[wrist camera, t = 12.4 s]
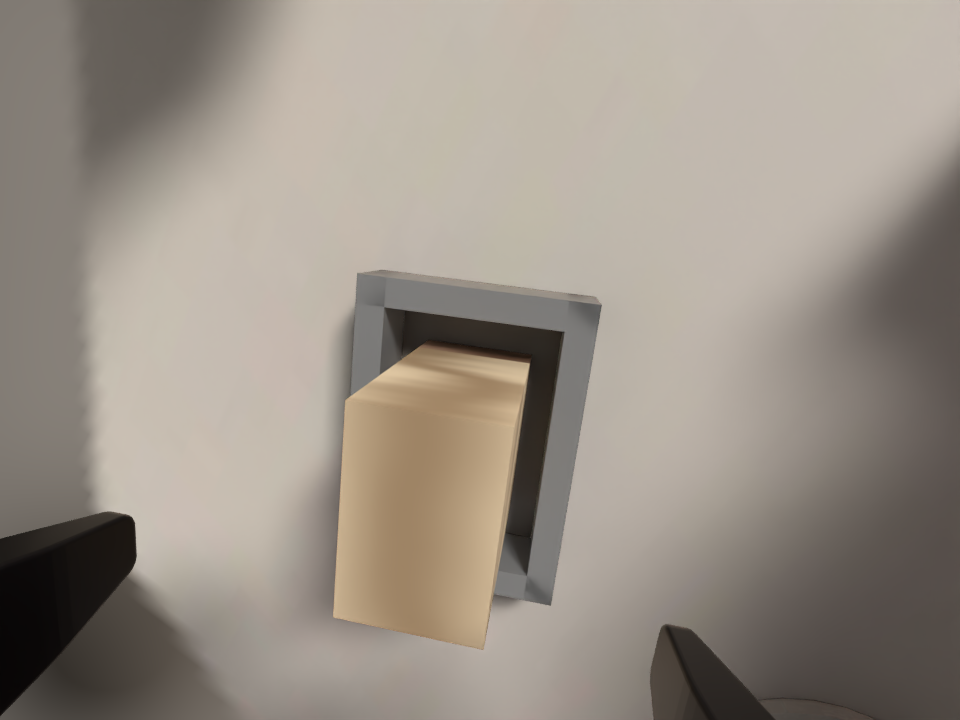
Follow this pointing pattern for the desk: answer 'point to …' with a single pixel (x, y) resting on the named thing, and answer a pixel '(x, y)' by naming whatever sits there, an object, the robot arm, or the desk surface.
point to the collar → (577, 316)
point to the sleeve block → (429, 491)
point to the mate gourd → (809, 710)
